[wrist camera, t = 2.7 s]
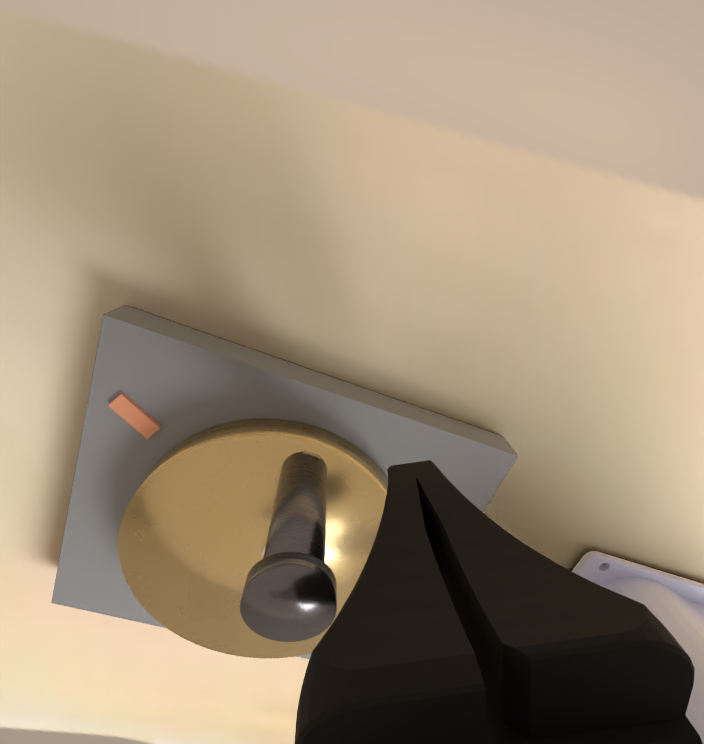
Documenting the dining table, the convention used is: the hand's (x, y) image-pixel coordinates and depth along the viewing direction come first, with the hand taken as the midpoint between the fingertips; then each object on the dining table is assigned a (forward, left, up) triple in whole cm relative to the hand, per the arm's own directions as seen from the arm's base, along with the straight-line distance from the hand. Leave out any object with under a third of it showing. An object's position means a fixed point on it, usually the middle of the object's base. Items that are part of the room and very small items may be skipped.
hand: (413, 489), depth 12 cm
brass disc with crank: (+3, +6, -3) cm, 8 cm away
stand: (+3, +6, -5) cm, 9 cm away
